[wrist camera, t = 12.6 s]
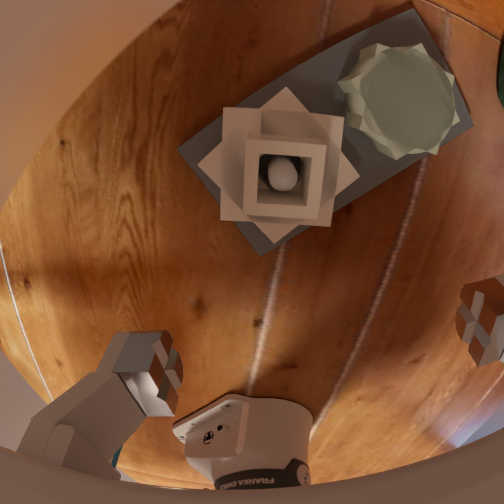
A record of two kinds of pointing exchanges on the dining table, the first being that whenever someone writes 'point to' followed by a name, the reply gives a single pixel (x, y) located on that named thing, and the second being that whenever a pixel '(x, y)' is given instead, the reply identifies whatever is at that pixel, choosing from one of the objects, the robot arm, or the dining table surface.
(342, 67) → the board
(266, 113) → the gear
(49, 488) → the robot arm
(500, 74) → the coffee jar
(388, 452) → the dining table surface
